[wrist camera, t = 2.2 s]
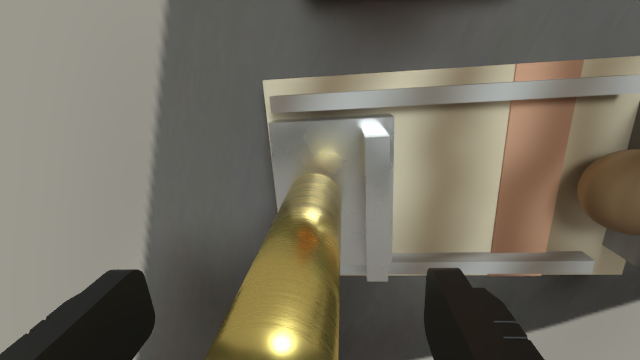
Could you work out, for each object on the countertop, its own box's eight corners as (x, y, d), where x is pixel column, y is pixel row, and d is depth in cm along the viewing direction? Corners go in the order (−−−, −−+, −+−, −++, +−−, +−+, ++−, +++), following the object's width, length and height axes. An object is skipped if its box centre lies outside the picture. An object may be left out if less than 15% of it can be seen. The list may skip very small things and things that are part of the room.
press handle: (389, 113, 15) (497, 195, 5) (388, 250, 18) (455, 512, 7) (274, 119, 16) (128, 205, 5) (288, 251, 19) (209, 496, 8)
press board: (657, 55, 16) (946, 33, 8) (603, 255, 19) (767, 367, 12) (271, 80, 18) (216, 81, 10) (290, 258, 21) (260, 356, 14)
